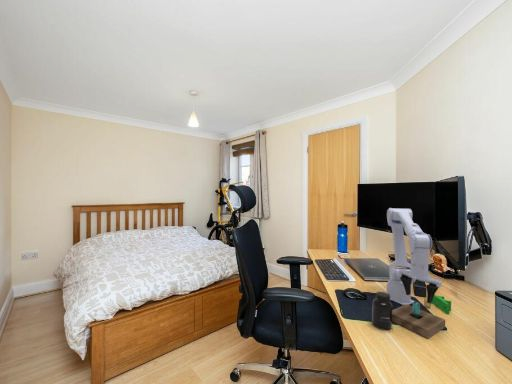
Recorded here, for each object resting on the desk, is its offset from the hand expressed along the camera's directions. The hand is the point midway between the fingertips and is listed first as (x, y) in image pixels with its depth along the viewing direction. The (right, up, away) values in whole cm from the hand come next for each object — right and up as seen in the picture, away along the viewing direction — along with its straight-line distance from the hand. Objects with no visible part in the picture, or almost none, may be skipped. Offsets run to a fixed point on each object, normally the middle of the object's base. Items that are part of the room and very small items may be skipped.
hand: (418, 298), depth 93 cm
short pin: (+12, -10, +12) cm, 20 cm away
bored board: (-2, -9, -1) cm, 10 cm away
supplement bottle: (-16, -9, -3) cm, 19 cm away
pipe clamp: (+19, -10, +11) cm, 24 cm away
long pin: (-2, -9, -1) cm, 10 cm away
